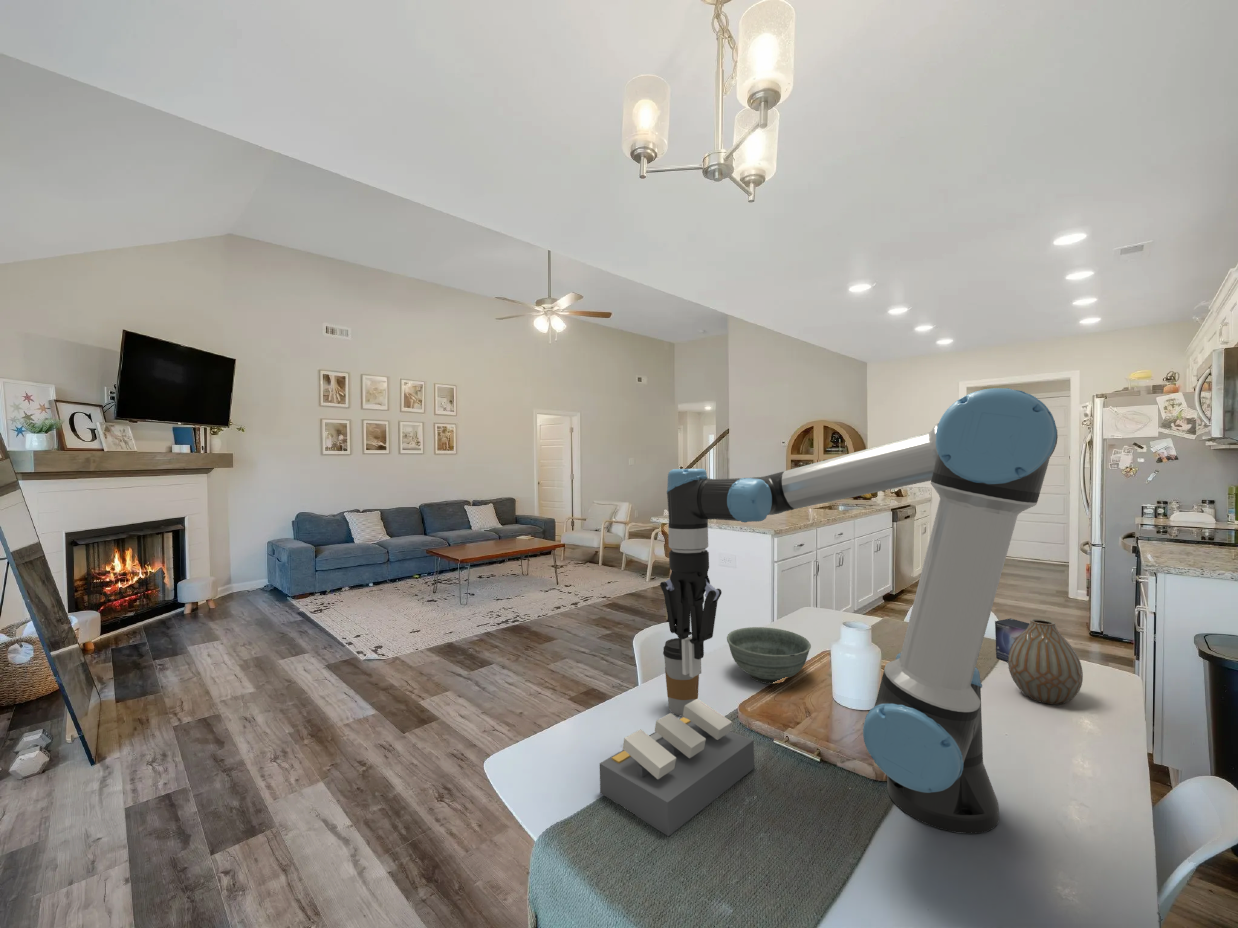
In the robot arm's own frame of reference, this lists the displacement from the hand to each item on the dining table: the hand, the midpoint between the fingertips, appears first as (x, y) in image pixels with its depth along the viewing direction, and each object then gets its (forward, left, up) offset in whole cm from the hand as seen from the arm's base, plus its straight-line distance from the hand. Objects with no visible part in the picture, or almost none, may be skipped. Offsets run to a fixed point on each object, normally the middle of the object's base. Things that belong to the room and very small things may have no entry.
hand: (691, 673), depth 98 cm
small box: (-37, -95, -16) cm, 103 cm away
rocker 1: (-3, +16, -8) cm, 18 cm away
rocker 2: (-3, +8, -8) cm, 12 cm away
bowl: (+8, -42, -16) cm, 46 cm away
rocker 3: (-3, 0, -8) cm, 9 cm away
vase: (-44, -73, -16) cm, 87 cm away
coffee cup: (+13, -13, -16) cm, 24 cm away
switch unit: (-3, +8, -15) cm, 18 cm away
